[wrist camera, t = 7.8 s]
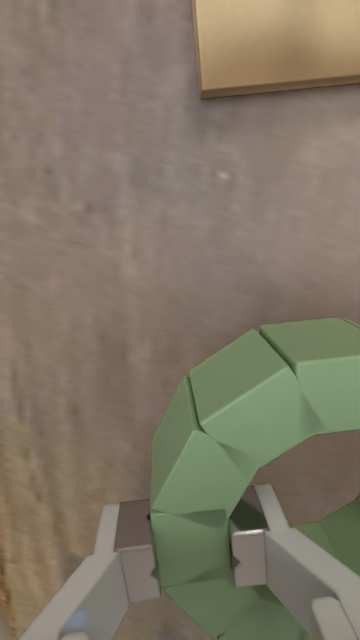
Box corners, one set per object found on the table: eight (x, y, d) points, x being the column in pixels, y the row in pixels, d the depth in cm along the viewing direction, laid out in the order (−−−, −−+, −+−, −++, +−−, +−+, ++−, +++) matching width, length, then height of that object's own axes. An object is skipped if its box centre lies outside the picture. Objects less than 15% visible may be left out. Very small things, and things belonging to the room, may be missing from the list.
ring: (419, 546, 14) (489, 633, 11) (169, 579, 13) (173, 679, 10) (453, 303, 11) (560, 333, 8) (137, 337, 10) (130, 381, 8)
